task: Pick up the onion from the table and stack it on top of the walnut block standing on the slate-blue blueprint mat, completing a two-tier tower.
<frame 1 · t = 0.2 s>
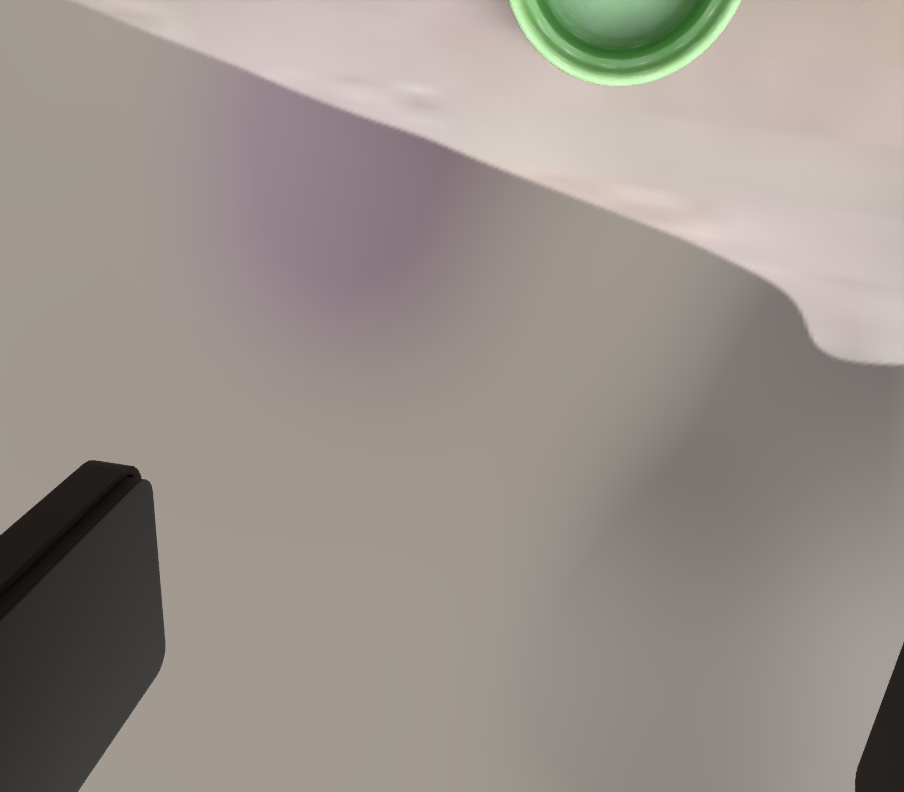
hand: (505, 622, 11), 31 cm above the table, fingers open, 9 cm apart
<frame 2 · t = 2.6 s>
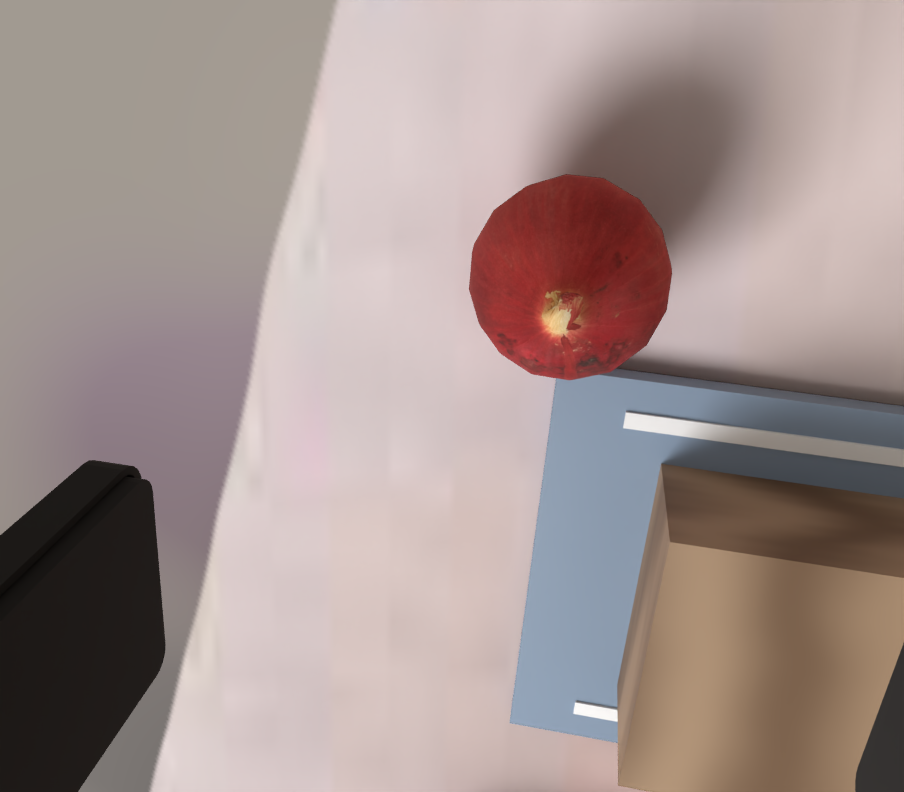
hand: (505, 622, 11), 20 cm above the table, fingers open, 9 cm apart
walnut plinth: (775, 603, 32), resting on blueprint mat
onion: (574, 247, 29), on the table
blueprint mat: (771, 590, 32), on the table
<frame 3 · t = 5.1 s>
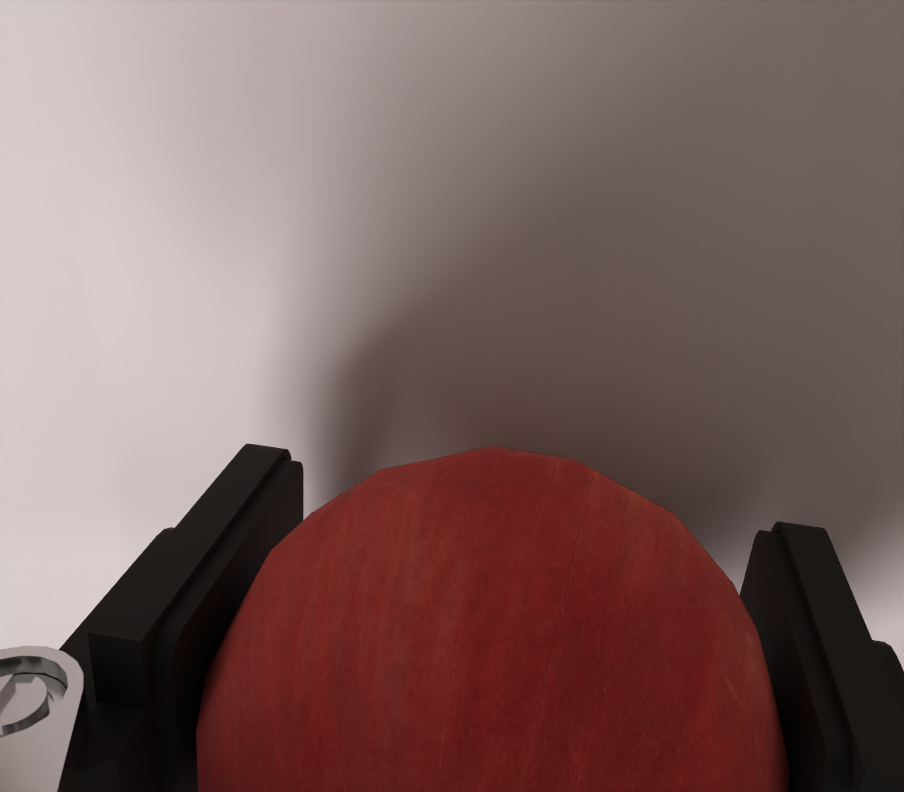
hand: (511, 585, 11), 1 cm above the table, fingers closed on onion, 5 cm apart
onion: (521, 529, 13), on the table, touching gripper
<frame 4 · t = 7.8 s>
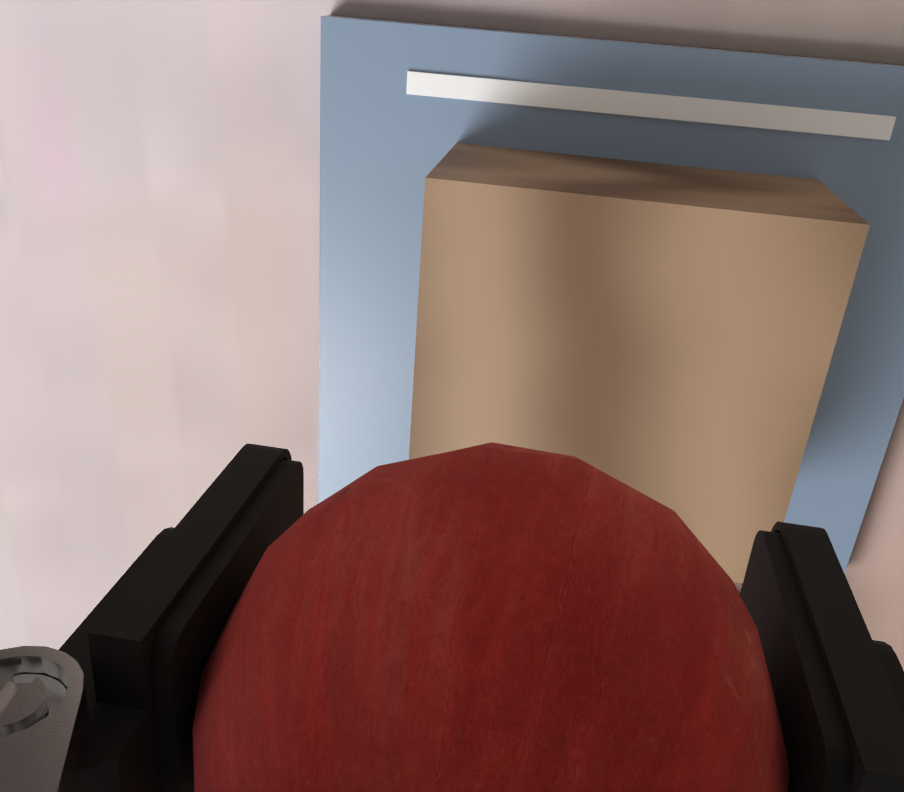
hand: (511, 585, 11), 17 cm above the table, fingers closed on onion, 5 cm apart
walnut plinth: (606, 327, 26), resting on blueprint mat
onion: (520, 526, 12), point 15 cm above the table, touching gripper
blueprint mat: (606, 318, 27), on the table
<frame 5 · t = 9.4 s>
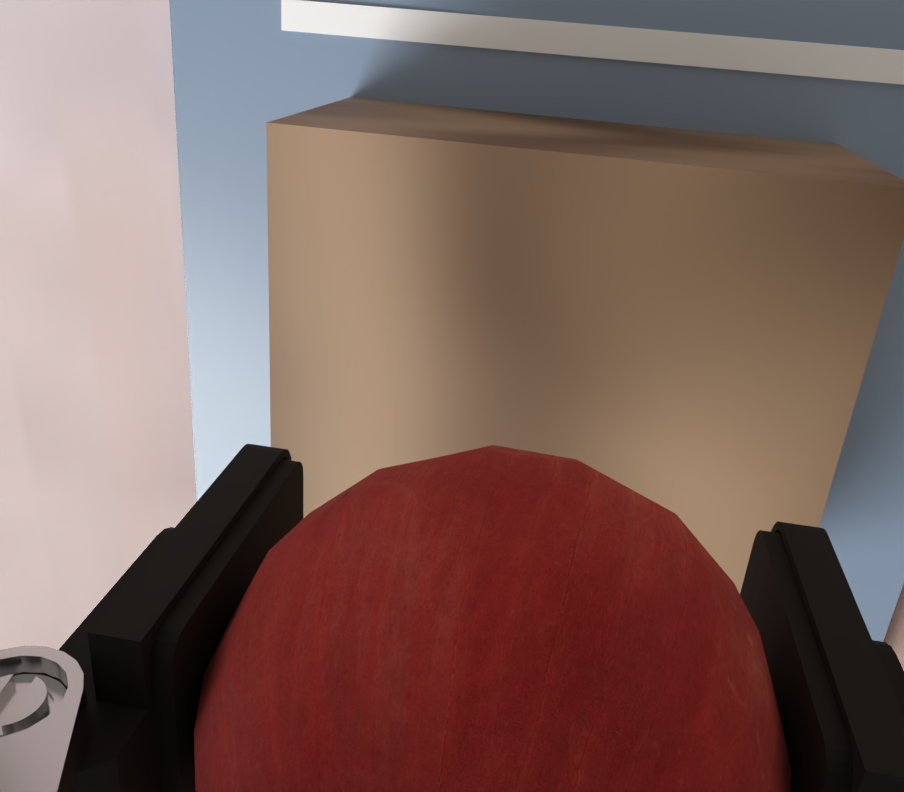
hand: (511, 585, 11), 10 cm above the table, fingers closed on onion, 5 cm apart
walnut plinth: (555, 345, 20), resting on blueprint mat
onion: (521, 528, 12), point 9 cm above the table, touching gripper
blueprint mat: (557, 334, 21), on the table
when the fingers open (8 cm above the table, at t = 10.6 s): onion drops 1 cm, resting on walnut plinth.
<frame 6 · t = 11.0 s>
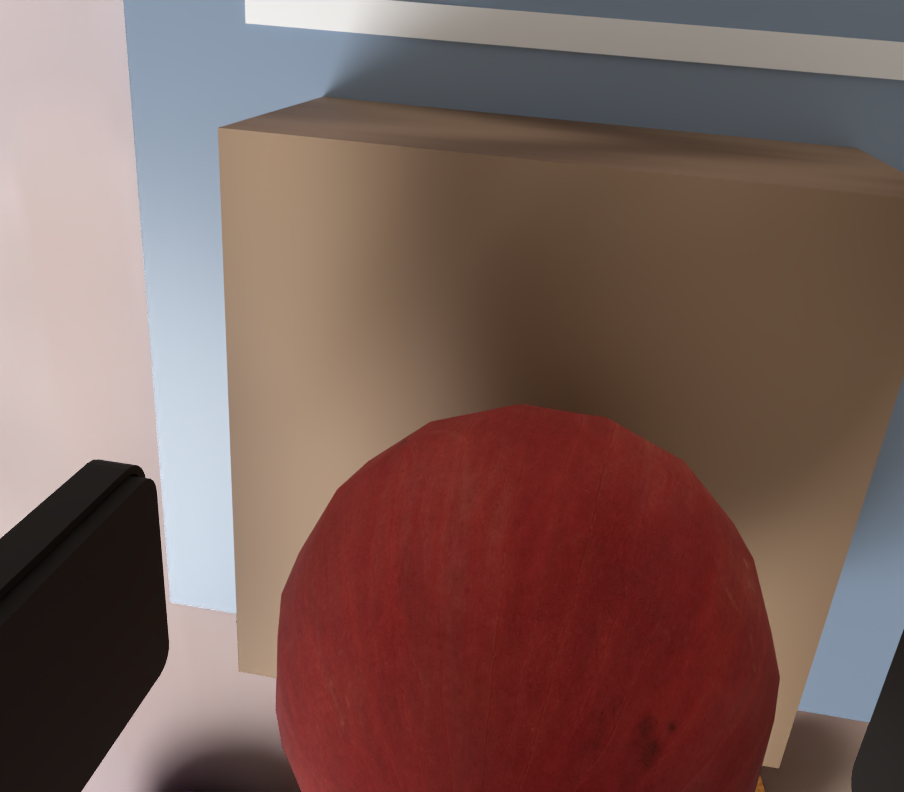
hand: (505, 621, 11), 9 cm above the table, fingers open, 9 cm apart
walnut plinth: (548, 366, 18), resting on blueprint mat
onion: (545, 488, 14), point 6 cm above the table, touching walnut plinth
blueprint mat: (550, 353, 19), on the table
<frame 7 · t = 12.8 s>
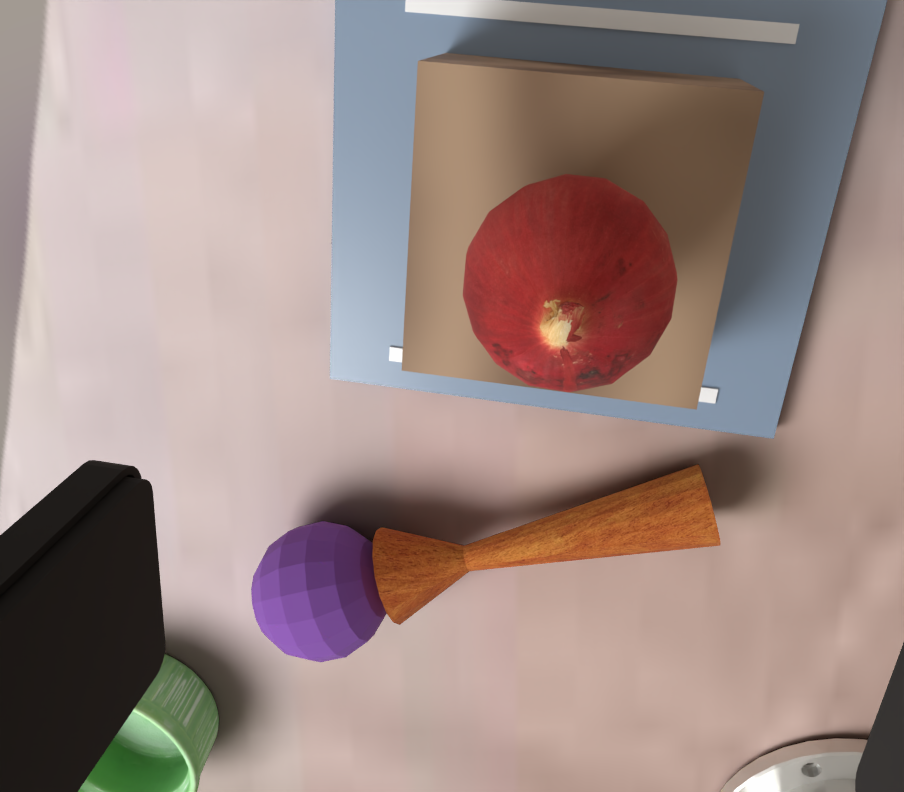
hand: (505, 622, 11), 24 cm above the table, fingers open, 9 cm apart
ramekin: (153, 698, 47), on the table
maraca: (481, 523, 39), on the table
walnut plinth: (570, 211, 32), resting on blueprint mat
onion: (573, 249, 27), point 6 cm above the table, touching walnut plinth
blueprint mat: (571, 206, 32), on the table
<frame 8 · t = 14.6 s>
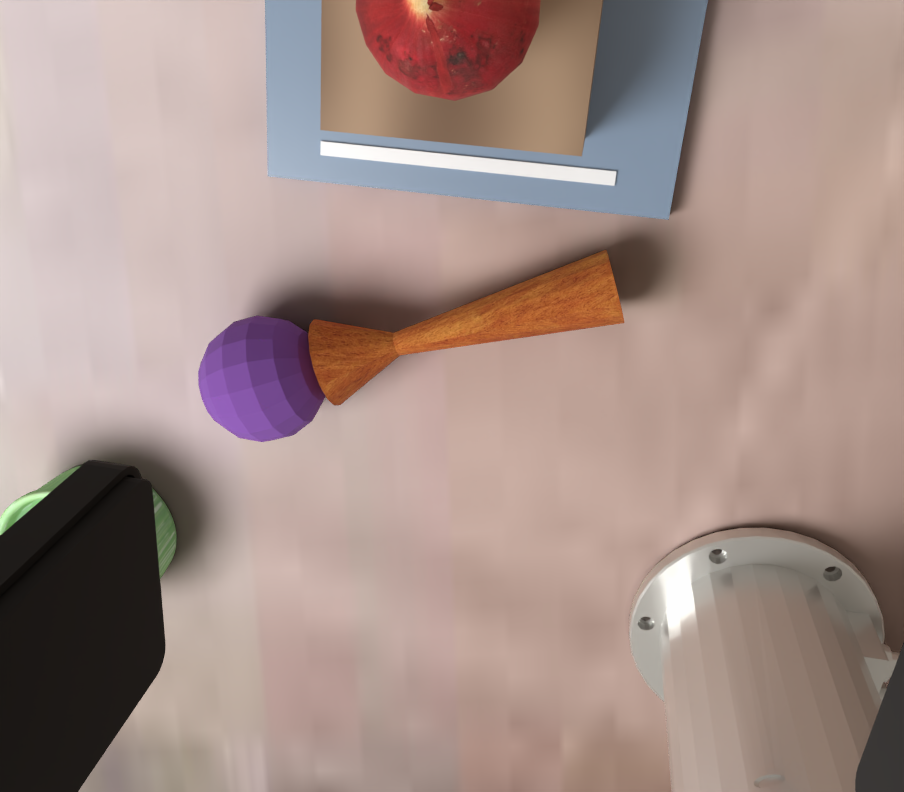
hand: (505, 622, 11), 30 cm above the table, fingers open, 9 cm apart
ramekin: (115, 520, 50), on the table
maraca: (414, 323, 42), on the table
onion: (466, 2, 31), point 6 cm above the table, touching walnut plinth
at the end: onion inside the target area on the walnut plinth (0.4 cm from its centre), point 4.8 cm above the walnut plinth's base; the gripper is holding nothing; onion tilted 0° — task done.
